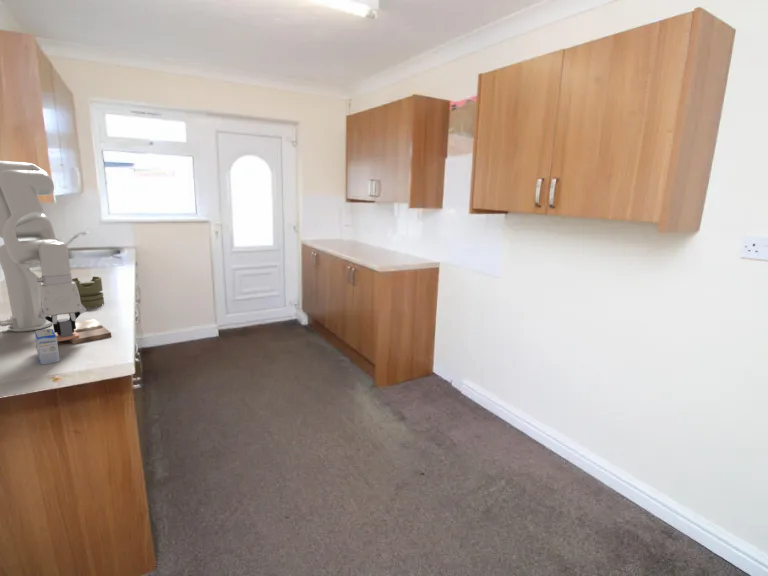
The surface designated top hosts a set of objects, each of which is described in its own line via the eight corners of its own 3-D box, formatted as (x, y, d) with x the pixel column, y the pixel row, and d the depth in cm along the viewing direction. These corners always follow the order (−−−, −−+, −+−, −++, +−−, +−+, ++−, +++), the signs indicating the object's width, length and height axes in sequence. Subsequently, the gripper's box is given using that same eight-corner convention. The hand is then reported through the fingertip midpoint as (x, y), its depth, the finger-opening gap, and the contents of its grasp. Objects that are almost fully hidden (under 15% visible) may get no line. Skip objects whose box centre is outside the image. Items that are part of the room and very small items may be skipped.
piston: (69, 278, 185) (99, 275, 192) (73, 304, 187) (103, 300, 194) (70, 282, 176) (102, 279, 183) (74, 309, 179) (105, 305, 185)
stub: (41, 344, 133) (38, 327, 132) (38, 339, 138) (35, 322, 136) (79, 337, 140) (77, 321, 139) (74, 332, 145) (72, 316, 144)
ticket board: (73, 344, 138) (72, 337, 138) (61, 330, 152) (60, 324, 151) (111, 336, 146) (110, 330, 146) (96, 324, 159) (95, 318, 159)
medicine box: (38, 357, 126) (33, 330, 125) (56, 354, 129) (52, 327, 128) (41, 365, 121) (36, 337, 119) (60, 361, 124) (56, 334, 122)
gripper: (27, 284, 128) (36, 341, 132) (90, 278, 139) (97, 330, 143) (23, 281, 133) (32, 335, 137) (84, 275, 144) (91, 325, 148)
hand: (65, 332), depth 140 cm, fingers closed on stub, 3 cm apart
